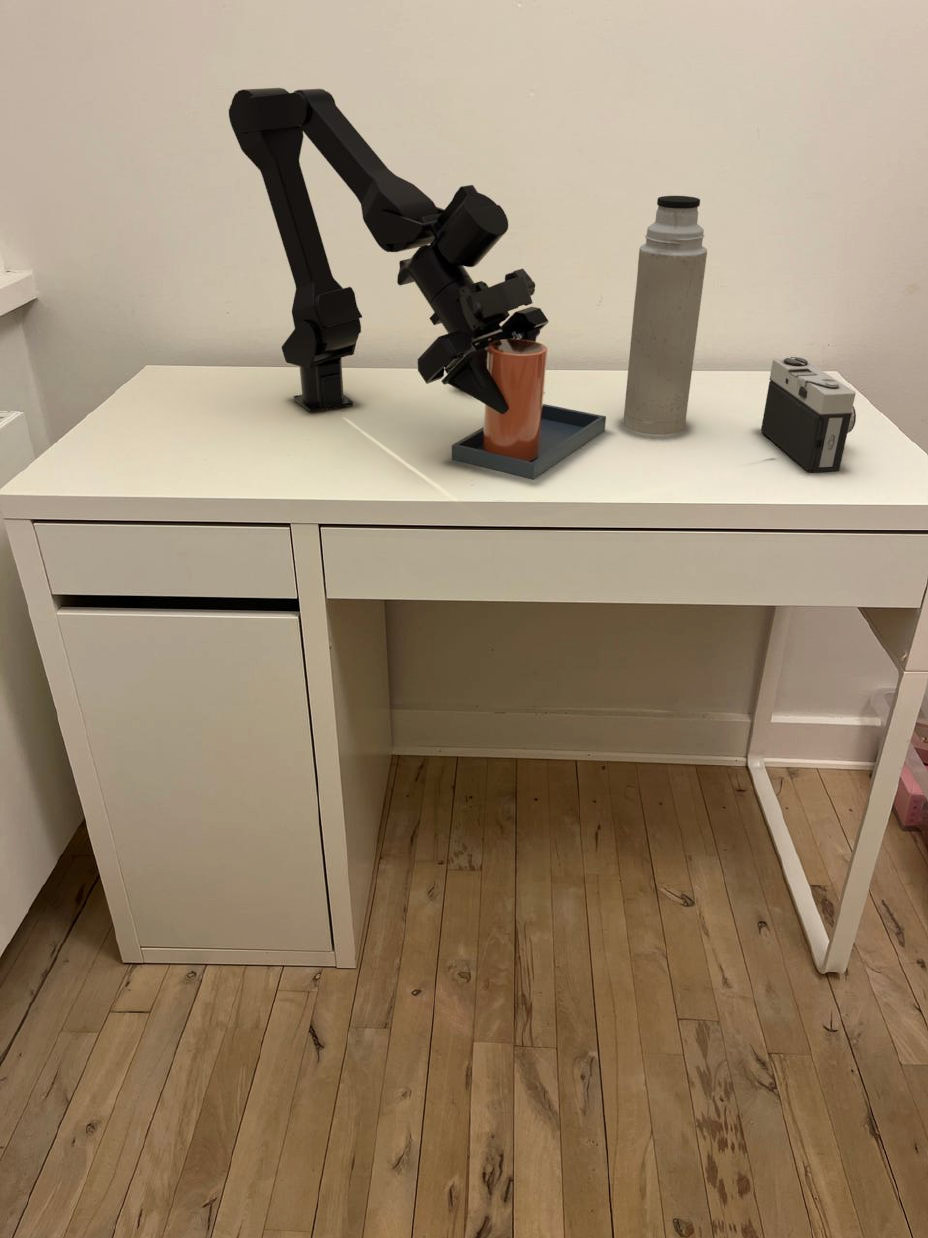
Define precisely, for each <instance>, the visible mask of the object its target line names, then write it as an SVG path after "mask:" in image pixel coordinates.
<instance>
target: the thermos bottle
mask: <svg viewBox="0 0 928 1238" xmlns="http://www.w3.org/2000/svg"><path fill="white" fill-rule="evenodd" d="M656 205H657V207H658V208H657V210H656V211H655V212H656V213H655V221H654V222H653V223H651V224H649V225H648V226H647V230H646V234H645V235H644V236H645V243H644V244H642V245H640V246H639V249H638V250H639V251H638V260H637V273H636V274H637V275H636V286H635V294H634V303H633V304H634V305H633V313H632V325H631V337H630V347H629V357H628V367H627V377H626V378H627V379H626V388H625V389H626V390H625V400H624V412H623V421H622V422H623V423H622V424H623V426H625V428H627V429H629V430H631V431H632V432H636V433H639V434H644V435H654V436H656V435H657V436H664V435H665V436H667V435H673V434H678V433H679V432H682V431H683V430H684V429H685V428H686V422H687V414H688V405H689V396H690V391H691V390H690V389H691V383H692V375H693V365H694V358H695V351H696V343H697V335H698V334H697V333H698V327H699V321H700V311H701V305H702V295H703V289H704V279H705V272H706V264H707V256H708V249H707V248H706V247H705V246H703V241H704V240H703V239H704V238H705V233H704V228H703V227H702V226H701V225H700V224H699V223H698V219H699V211H698V208H699V207H700V205H701V199H700V198H698V197H695V196H687V195H663V196H660V197H657V201H656Z"/></svg>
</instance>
